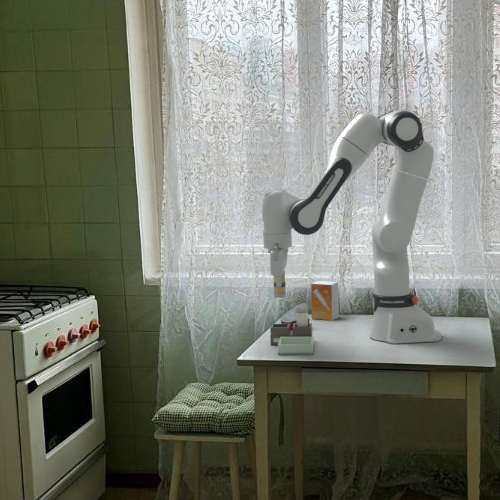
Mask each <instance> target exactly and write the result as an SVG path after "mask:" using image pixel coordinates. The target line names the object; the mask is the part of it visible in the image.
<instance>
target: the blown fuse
mask: <svg viewBox="0 0 500 500" xmlns="http://www.w3.org/2000/svg"><path fill="white" fill-rule="evenodd" d="M272 277H273V297H274V298H286V297H287V294H286V293H287V292H286V271H285V270H284V272H283V274H282V286H281V287H276V280H275V276H272Z"/></svg>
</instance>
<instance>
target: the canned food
mask: <svg viewBox="0 0 500 500" xmlns="http://www.w3.org/2000/svg"><path fill="white" fill-rule="evenodd" d="M298 307H306V308H308V303H306V302H303V303H300V304H298V305H296V306H294V307H292V308H291V309H289V310H288V311H287V312H285V313H283V315H282V316H281V318H280V324H290V331H293V324H294V323H297V319H296V308H298ZM308 323H310V318H309V317H308Z"/></svg>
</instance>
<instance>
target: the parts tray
mask: <svg viewBox="0 0 500 500" xmlns="http://www.w3.org/2000/svg"><path fill="white" fill-rule="evenodd" d="M314 349H315V336H312V337H280V340H279V343H278V345H277V353H278V355H279V356H280V355H281V356H282V355H290V356H291V355H295V356H296V355H301V356H302V355H313V354H314ZM278 355H277V356H278Z"/></svg>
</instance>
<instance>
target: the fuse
mask: <svg viewBox="0 0 500 500" xmlns="http://www.w3.org/2000/svg"><path fill="white" fill-rule="evenodd" d="M308 318H309V309H308V307H307V308H306V307H298V308H296V319H297V327H308Z"/></svg>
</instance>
